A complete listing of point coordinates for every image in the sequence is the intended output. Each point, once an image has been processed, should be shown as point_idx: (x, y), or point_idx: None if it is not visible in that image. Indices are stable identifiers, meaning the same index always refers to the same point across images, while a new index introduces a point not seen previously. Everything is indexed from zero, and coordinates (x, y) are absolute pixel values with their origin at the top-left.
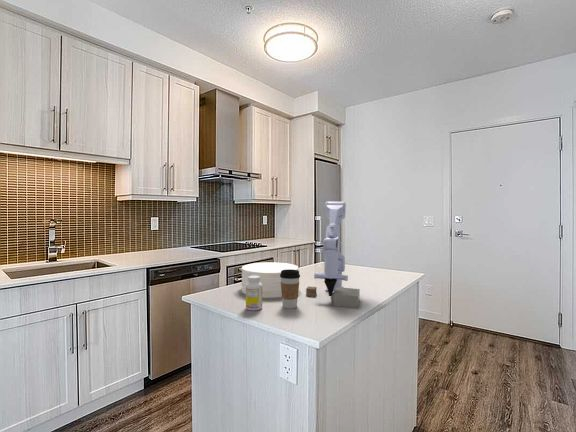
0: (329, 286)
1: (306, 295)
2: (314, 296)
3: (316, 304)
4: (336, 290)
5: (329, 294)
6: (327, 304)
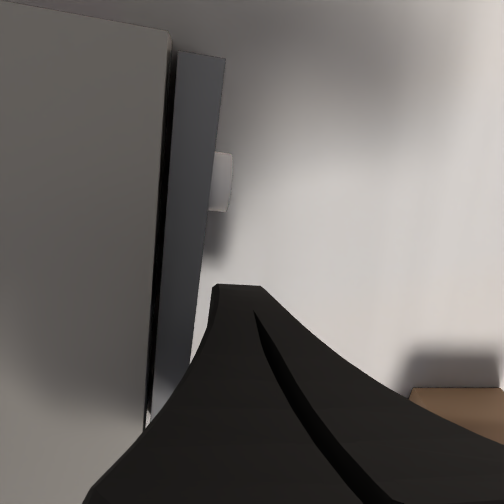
0: (312, 392)
1: (501, 391)
2: (416, 389)
3: (442, 63)
4: (117, 398)
5: (260, 296)
6: (270, 94)
